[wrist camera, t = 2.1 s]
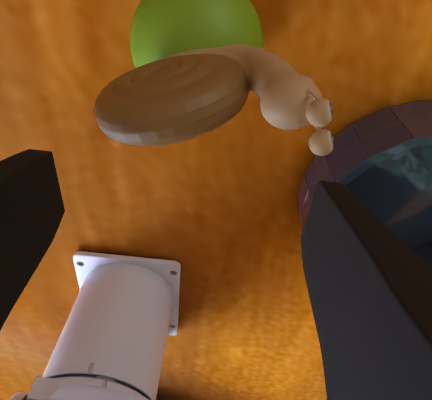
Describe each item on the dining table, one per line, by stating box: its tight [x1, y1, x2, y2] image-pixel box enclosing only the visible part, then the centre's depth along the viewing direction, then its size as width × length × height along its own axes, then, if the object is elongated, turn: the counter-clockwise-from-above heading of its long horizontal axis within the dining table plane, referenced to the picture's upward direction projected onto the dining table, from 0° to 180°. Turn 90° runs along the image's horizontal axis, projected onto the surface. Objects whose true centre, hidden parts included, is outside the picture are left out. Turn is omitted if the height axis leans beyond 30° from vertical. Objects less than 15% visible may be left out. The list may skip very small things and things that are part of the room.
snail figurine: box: [94, 0, 334, 156], centre depth 12 cm, size 5×6×12 cm
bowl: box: [297, 100, 432, 267], centre depth 20 cm, size 12×12×4 cm
